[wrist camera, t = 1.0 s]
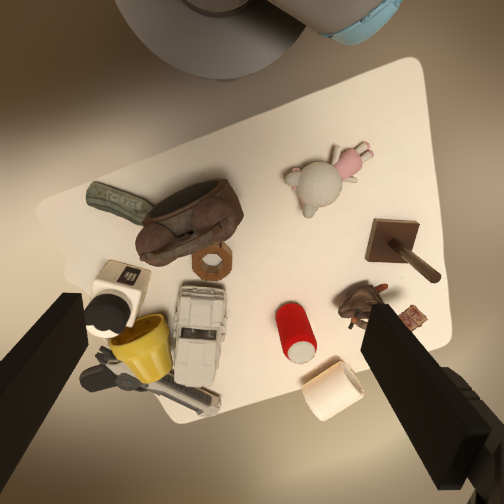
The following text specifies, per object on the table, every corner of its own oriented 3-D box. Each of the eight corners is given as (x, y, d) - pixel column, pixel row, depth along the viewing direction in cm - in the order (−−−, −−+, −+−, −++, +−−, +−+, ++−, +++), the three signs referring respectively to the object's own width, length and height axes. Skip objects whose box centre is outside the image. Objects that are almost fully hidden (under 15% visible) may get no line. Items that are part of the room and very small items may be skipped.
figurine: (405, 283, 66) (451, 330, 52) (393, 313, 69) (433, 365, 55) (338, 275, 64) (368, 321, 51) (329, 306, 67) (354, 358, 53)
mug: (318, 425, 66) (333, 414, 77) (361, 399, 64) (370, 391, 74) (297, 386, 70) (313, 381, 81) (336, 360, 68) (348, 359, 78)
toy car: (231, 281, 63) (231, 311, 54) (220, 362, 71) (219, 400, 62) (177, 276, 62) (169, 305, 53) (173, 359, 70) (164, 397, 61)
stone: (164, 207, 54) (156, 234, 56) (167, 204, 56) (159, 230, 58) (88, 179, 53) (83, 207, 54) (94, 177, 54) (89, 204, 56)
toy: (338, 128, 57) (274, 180, 54) (366, 121, 50) (295, 178, 48) (359, 169, 60) (299, 219, 57) (387, 166, 53) (322, 223, 51)
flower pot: (175, 382, 57) (153, 335, 55) (121, 397, 58) (97, 352, 56) (187, 349, 67) (169, 307, 65) (141, 362, 68) (121, 322, 66)
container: (109, 258, 60) (79, 296, 48) (151, 270, 61) (133, 310, 49) (101, 293, 62) (72, 337, 51) (142, 304, 64) (122, 349, 52)
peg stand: (374, 218, 60) (417, 252, 46) (415, 221, 61) (470, 254, 47) (364, 258, 63) (402, 300, 49) (404, 260, 64) (452, 302, 50)
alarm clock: (226, 163, 54) (224, 192, 36) (244, 202, 57) (251, 248, 39) (148, 199, 56) (108, 244, 37) (169, 235, 58) (142, 294, 40)
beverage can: (274, 326, 68) (283, 368, 57) (275, 300, 66) (284, 339, 55) (303, 325, 69) (317, 367, 58) (305, 300, 66) (321, 338, 55)
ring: (193, 238, 59) (192, 244, 56) (232, 240, 60) (232, 246, 57) (193, 272, 62) (191, 280, 59) (230, 274, 63) (230, 281, 60)
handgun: (181, 439, 77) (222, 415, 70) (63, 389, 66) (98, 355, 60) (185, 417, 81) (224, 393, 75) (75, 367, 70) (109, 333, 64)
